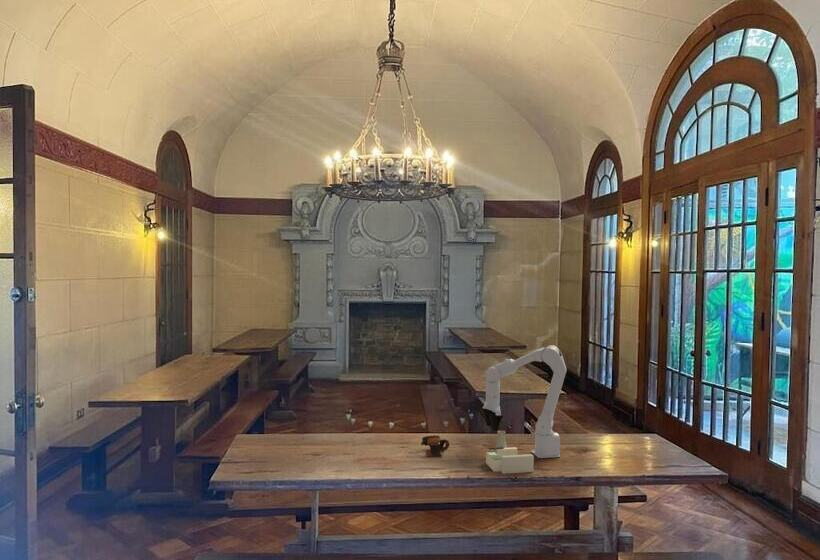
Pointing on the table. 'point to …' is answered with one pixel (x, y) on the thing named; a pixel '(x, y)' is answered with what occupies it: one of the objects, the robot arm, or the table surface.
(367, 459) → the table surface
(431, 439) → the pottery mug
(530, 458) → the gauge frame
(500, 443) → the grey vase
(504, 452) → the pad
